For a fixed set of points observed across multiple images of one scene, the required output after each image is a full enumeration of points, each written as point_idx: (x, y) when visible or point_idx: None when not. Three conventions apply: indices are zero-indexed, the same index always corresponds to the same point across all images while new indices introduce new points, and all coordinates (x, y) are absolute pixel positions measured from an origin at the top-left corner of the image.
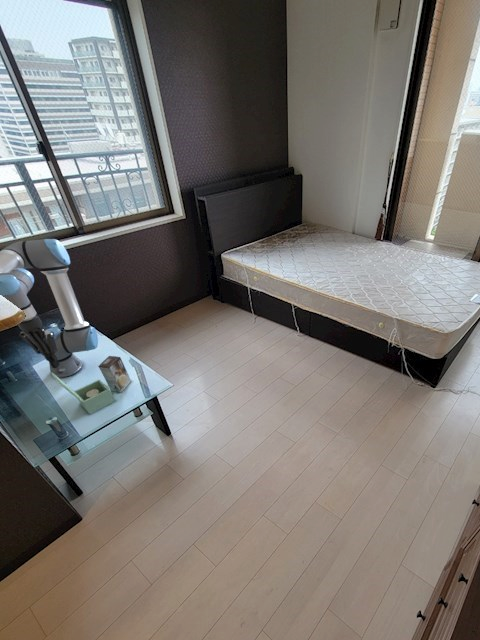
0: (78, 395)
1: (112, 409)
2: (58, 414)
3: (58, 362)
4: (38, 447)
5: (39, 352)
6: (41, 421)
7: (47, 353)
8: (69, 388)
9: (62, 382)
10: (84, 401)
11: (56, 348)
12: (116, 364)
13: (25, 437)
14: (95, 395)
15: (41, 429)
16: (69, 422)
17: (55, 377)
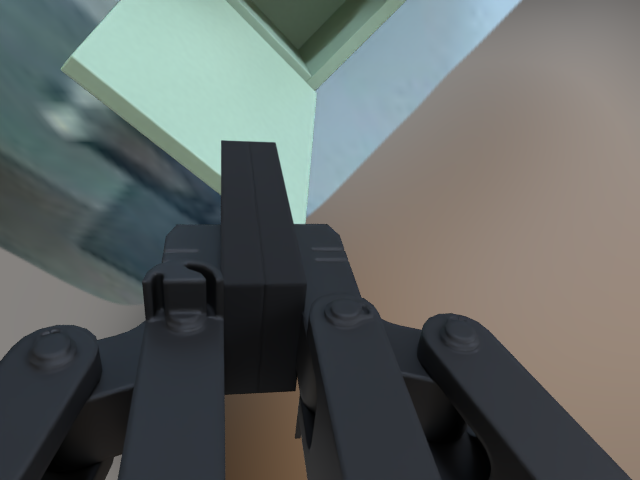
0: (241, 7)
1: (424, 20)
2: None
3: (277, 156)
4: (140, 284)
5: (111, 454)
6: (12, 117)
7: (301, 428)
8: (240, 78)
9: (219, 116)
10: (319, 83)
11: (521, 387)
12: None
13: (18, 232)
14: (379, 15)
15: (65, 179)
16: None
17: (179, 151)
